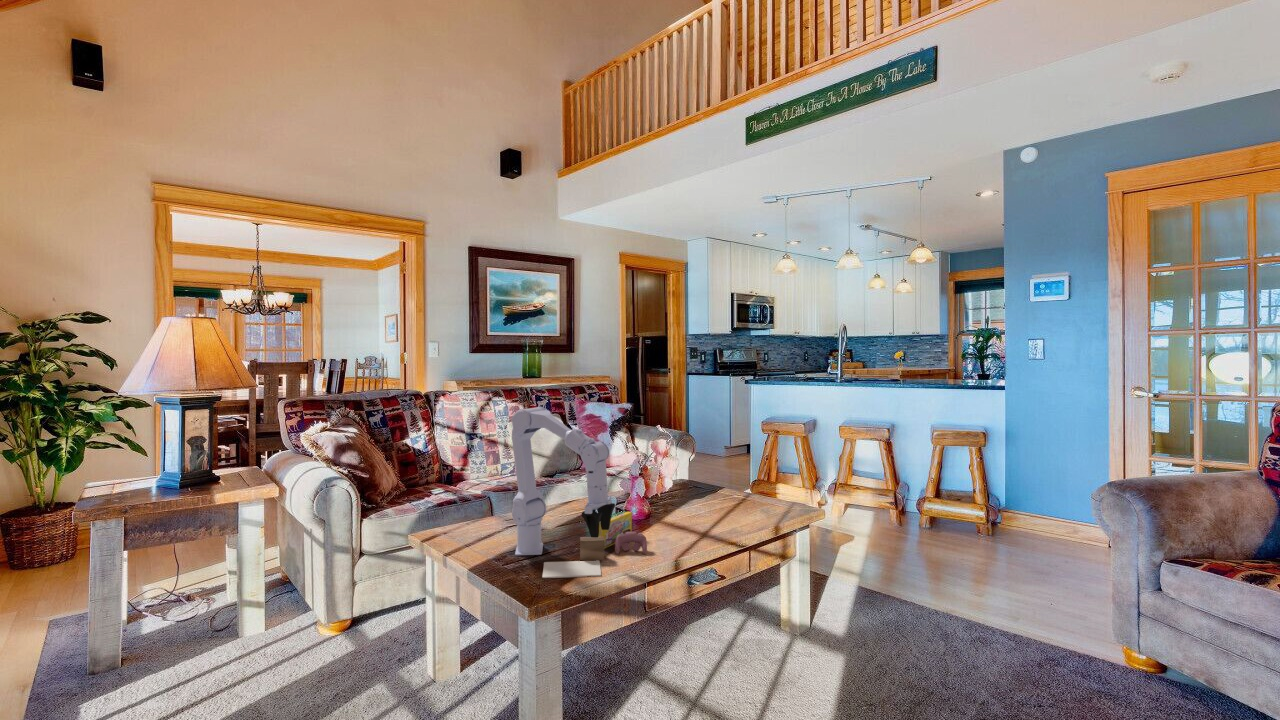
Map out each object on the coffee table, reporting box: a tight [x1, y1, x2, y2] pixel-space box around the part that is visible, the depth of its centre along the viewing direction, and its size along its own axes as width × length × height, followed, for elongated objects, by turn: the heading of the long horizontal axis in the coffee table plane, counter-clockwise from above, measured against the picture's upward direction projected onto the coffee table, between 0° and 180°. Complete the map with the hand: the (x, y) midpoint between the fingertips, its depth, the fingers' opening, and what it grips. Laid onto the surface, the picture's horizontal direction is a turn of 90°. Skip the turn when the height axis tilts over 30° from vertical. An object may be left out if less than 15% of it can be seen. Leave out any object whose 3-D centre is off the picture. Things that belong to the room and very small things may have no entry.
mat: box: [541, 560, 602, 579], centre depth 173 cm, size 11×16×1 cm
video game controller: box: [614, 531, 648, 555], centre depth 188 cm, size 10×5×7 cm, turn 92°
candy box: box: [599, 511, 633, 550], centre depth 197 cm, size 16×2×8 cm, turn 147°
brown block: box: [579, 536, 605, 561], centre depth 182 cm, size 4×7×6 cm, turn 96°
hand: (600, 533), depth 174 cm, fingers open, 7 cm apart
